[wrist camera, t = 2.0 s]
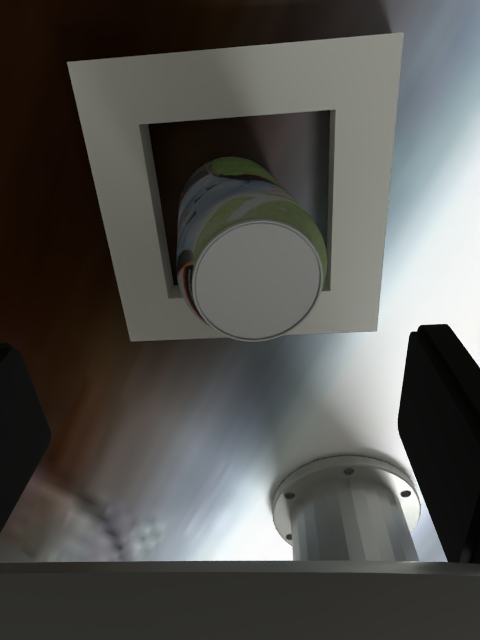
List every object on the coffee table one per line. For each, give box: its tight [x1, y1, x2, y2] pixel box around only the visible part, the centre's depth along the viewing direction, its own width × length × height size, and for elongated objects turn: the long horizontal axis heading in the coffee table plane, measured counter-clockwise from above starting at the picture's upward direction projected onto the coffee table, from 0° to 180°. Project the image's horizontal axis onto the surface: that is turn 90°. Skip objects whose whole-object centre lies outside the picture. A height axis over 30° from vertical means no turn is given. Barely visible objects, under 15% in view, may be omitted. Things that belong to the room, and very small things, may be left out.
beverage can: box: [176, 157, 327, 342], centre depth 21 cm, size 6×7×12 cm
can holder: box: [67, 32, 404, 341], centre depth 26 cm, size 16×16×2 cm
